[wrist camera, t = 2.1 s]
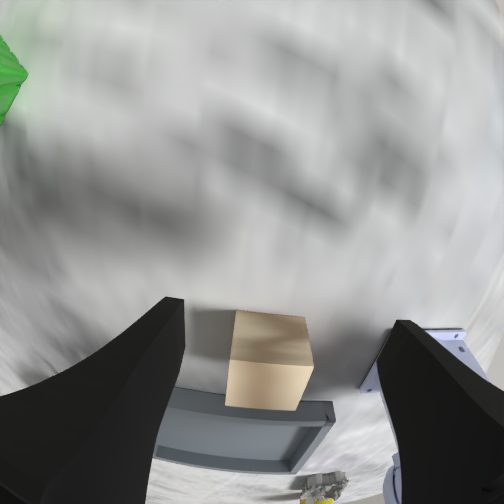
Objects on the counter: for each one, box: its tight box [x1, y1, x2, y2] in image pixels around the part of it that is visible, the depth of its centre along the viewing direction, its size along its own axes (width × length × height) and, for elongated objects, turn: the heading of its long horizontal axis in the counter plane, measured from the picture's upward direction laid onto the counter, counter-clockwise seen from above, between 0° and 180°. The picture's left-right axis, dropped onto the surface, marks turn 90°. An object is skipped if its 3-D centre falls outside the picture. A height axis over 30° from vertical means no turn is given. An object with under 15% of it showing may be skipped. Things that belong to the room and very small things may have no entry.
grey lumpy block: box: [300, 471, 349, 501], centre depth 35 cm, size 11×8×4 cm
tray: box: [152, 387, 336, 474], centre depth 27 cm, size 20×16×2 cm
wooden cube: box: [225, 310, 314, 411], centre depth 19 cm, size 5×5×5 cm
